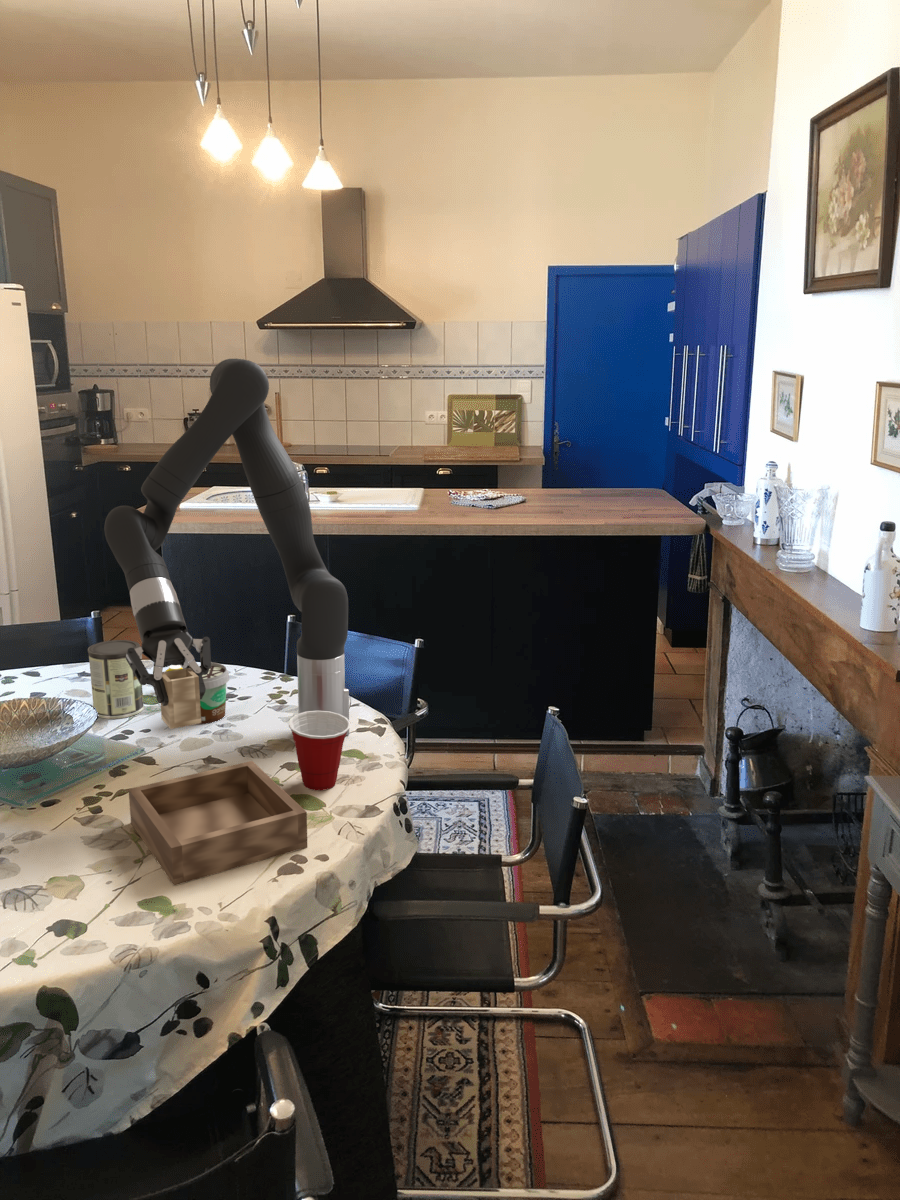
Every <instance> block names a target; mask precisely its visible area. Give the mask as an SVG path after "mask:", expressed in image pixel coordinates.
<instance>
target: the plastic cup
mask: <svg viewBox="0 0 900 1200" xmlns="http://www.w3.org/2000/svg"><path fill="white" fill-rule="evenodd" d="M351 725H352V724H351V722H350V719H349V720H348V719H347V718H346V717H344V716H342V715H340V714H337V713H333V712H329V711H307V712H303V713H299V714H298V713H296V714H295V715H293V716H292V717H290V719H289V721H288V727H289V728H290V731H291V734H292V739H293V742H294V746H295V751H296V759H297V762H298V763H297V764H298V767H299V771H300V775H301V780H302V782H303V783H302V784H303V786H304V788H307V789H308V790H311V791H325V790H330V789H332V788H333V787H334V786H336V784H337V780H338V774H339V773H338V772H339V768H340V764H341V757H342V752H343V746H344V742H345V739H346V736H347V735H346V733H347V732H348V730H349V731H350V728H351Z"/></svg>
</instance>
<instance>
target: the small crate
mask: <svg viewBox="0 0 900 1200" xmlns="http://www.w3.org/2000/svg"><path fill="white" fill-rule="evenodd" d="M165 671H166V670H165ZM165 671H162V678H161V679H162V680H163V681H164V684H165V688H166V691H167V695H168V699H169V702H168V705H167V706H163V705H162V703H160V713H161V714H160V715H161V720H162V721H163V722H164V723H165V724H166V726H167V727H168V728H169V730H173V729H179V728H183V727H188V726H193V725H200V724H199V723H201V710H200V695H199V694H200V692H199V676H197V675H196V674H195V673H194V672H193V671H192V670H191V669H190V668H184V669H178V670H172V671H166V672H165Z"/></svg>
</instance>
